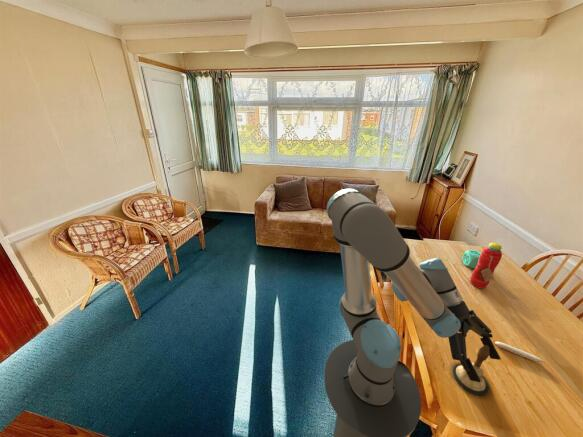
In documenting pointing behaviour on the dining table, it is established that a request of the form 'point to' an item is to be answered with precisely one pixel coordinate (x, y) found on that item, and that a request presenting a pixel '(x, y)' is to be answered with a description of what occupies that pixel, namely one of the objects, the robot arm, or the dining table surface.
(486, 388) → the corner coaster
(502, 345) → the pen
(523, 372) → the dining table surface
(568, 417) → the dining table surface
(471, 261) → the decorative dice
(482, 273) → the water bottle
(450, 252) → the dining table surface
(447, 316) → the robot arm
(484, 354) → the hand bell
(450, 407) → the dining table surface
